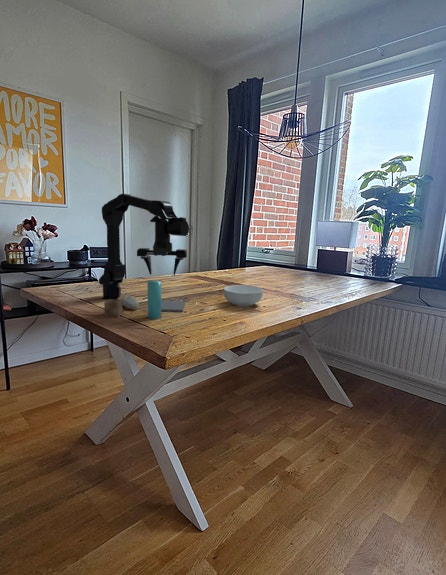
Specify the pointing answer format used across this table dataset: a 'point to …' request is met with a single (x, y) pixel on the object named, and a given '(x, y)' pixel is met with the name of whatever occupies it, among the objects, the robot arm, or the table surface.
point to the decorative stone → (130, 302)
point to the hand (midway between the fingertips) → (162, 274)
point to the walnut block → (113, 307)
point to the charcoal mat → (172, 306)
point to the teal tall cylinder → (154, 299)
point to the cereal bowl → (243, 294)
